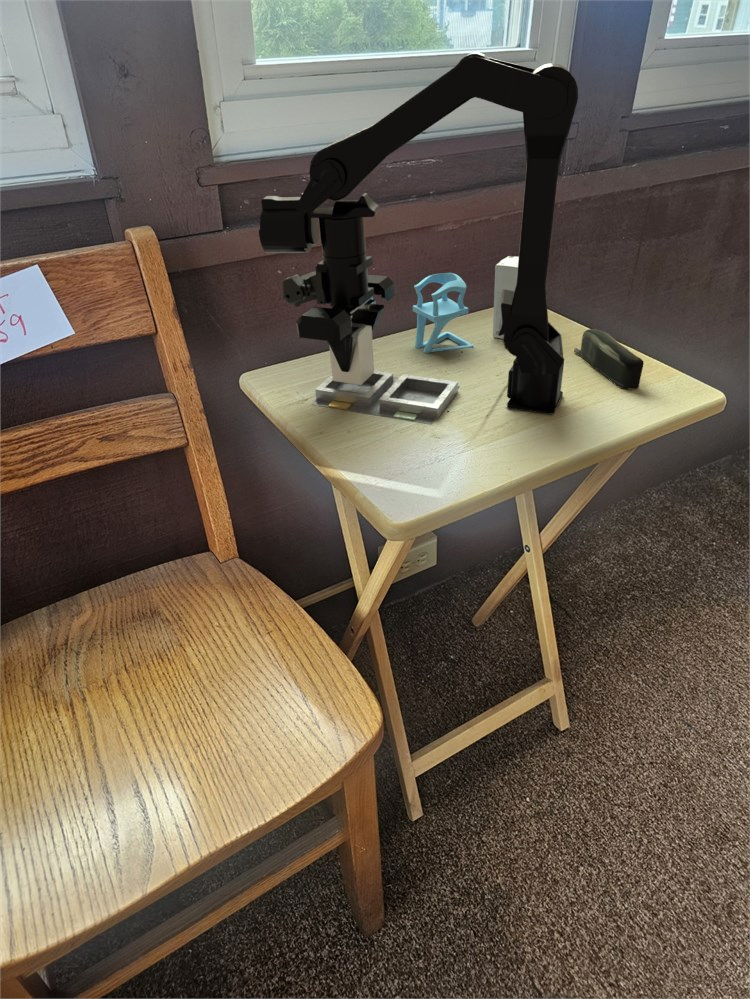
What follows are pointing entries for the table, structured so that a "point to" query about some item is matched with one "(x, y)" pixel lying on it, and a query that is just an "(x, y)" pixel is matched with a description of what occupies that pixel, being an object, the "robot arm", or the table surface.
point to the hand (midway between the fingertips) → (352, 364)
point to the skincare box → (503, 286)
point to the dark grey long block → (611, 358)
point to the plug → (357, 359)
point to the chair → (440, 311)
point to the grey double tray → (390, 396)
